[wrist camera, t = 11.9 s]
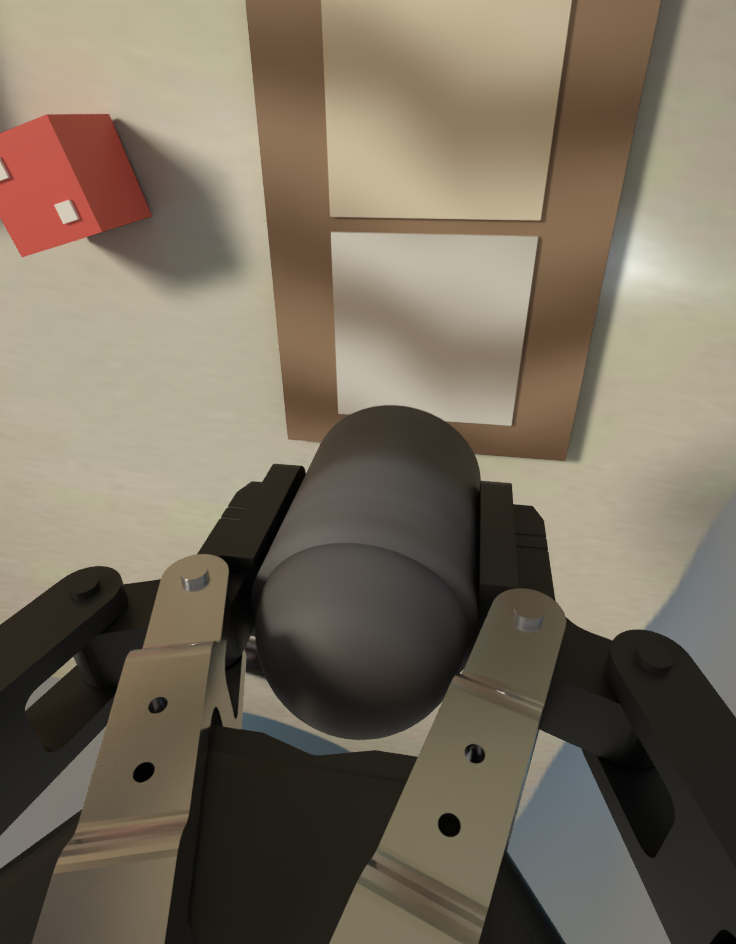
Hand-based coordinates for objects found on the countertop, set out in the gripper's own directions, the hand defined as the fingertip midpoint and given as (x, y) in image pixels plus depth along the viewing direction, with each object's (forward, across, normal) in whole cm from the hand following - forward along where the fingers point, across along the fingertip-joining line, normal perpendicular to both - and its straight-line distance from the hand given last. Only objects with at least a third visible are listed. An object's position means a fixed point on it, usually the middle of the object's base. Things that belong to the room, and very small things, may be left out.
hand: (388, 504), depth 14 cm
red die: (+14, +15, -6) cm, 22 cm away
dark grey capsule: (+1, 0, 0) cm, 1 cm away
